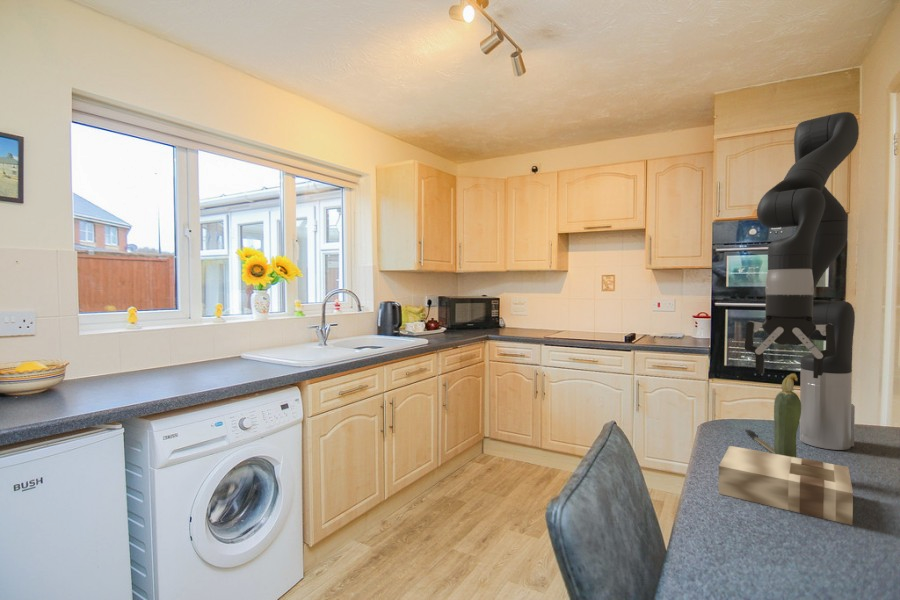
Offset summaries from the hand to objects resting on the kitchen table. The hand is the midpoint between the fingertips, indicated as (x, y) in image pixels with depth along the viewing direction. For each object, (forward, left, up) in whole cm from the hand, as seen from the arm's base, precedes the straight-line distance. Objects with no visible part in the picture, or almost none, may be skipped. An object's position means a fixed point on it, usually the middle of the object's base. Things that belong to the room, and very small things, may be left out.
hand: (787, 375), depth 90 cm
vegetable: (0, 0, -20) cm, 20 cm away
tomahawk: (-9, -13, -20) cm, 25 cm away
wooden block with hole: (+9, +8, -19) cm, 23 cm away
